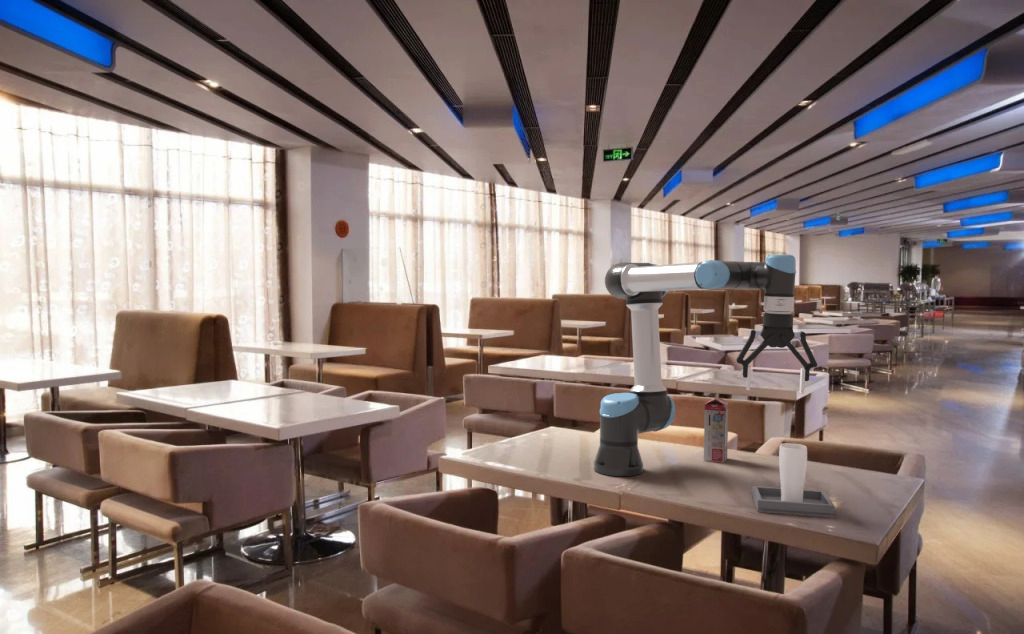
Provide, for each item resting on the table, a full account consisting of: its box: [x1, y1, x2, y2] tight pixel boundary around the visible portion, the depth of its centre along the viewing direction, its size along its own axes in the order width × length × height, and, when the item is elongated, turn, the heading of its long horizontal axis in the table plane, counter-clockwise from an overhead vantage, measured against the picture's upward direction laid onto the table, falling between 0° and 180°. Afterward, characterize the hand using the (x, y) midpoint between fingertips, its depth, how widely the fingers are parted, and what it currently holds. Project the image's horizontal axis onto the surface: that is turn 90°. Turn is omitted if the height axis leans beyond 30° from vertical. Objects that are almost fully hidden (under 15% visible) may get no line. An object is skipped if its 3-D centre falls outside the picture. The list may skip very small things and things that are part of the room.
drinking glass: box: [778, 442, 808, 502], centre depth 182 cm, size 7×7×15 cm
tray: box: [752, 485, 835, 519], centre depth 183 cm, size 18×13×3 cm
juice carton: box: [703, 391, 729, 463], centre depth 231 cm, size 7×7×22 cm
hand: (774, 391), depth 188 cm, fingers open, 13 cm apart
